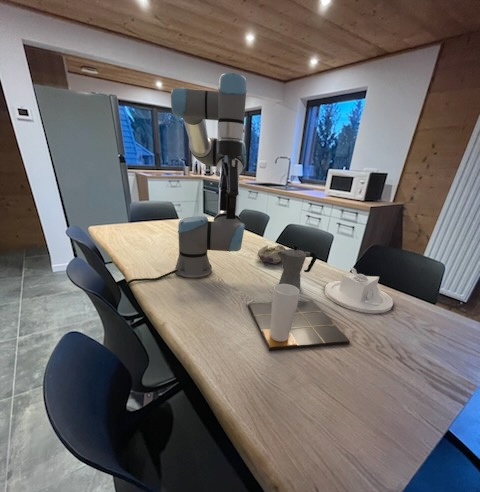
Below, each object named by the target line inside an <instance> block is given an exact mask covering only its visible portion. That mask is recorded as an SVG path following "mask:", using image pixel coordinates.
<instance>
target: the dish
mask: <svg viewBox="0 0 480 492" xmlns="http://www.w3.org/2000/svg"><path fill="white" fill-rule="evenodd" d="M350 270H351V273H352V275H351V274H343V275H342V277H341V280H335V281H329V282H328V283H327V284H326V285H325V287H324V294H325V296H326V297H327V298H328V299H329V300H331V301H332V302H333V303H335V304H336V305H339V306H341V307H343V308H346V309H349V310H351V311H356V312H359V313H365V314H384V313H387V312H388V311H391V309H392V307H393V306H394V305H393V304H394V300H393V298H392V297H391V296H390V295H389V294H388V293H387V292H385V291H383V290H382V289H380V288H379V287H377V285H378V283H379V279H380V276H372V275H371V276H370V275H365V274H363V273H358V272H357V269H356V268H355V267H353V266H350Z"/></svg>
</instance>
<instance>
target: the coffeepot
mask: <svg viewBox="0 0 480 492" xmlns="http://www.w3.org/2000/svg"><path fill="white" fill-rule="evenodd" d="M298 248H299V245H298V244H294V245H293V248H289V249H287V248H286V250H284V251H280V252H278V253H277V254H278V255H279V256H280V258H281V260H282V261H281V263H282V269H283V270H282V272H281V276H280V279H279V281H278V284H289V285H293V286H295V287H297V288H298V289H299V290H301V272H302V270H303V272H304V273H309V272H310V271H311V270H312V268H313V266H314V264H315V263H316V261H317V260H318V256H317V254H316V252H314V251H303V250H300V249H298ZM306 258H311V259H310V262H309V264H308V266H307V269H303V267H304V264H305V260H306Z"/></svg>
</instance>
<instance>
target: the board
mask: <svg viewBox="0 0 480 492" xmlns="http://www.w3.org/2000/svg"><path fill="white" fill-rule="evenodd" d="M247 304H248V305H247V306H248V309H249V311H250V312H251V315H252V317H253V319H254V321H255V323H256V325H257V327H258V329H259V331H260V334H261V336H262V338H263V339H264V343H265V344H266V346H267V348H268V351H270V352H271V351H283V350H294V349H305V348H315V347H328V346H338V345H339V346H340V345H349V344H350V342H351V341H350V339H349V338H348V337H347V336H346V335H345V334H344V333H343V332H342V331H341V330H340V329H339V328H338V326H337V325H336V324H335V323H334V322H333V321H332V320H331V319H330V318H329V317H328V315H326V314H325V313H324V311H323V310H322V309H321V308H320V307H319V306H318V305H317V304H316V303H315V302H314V301H313V300H298V305H297V309H296V312H295V316H294V319H293V323H292V326H291V330H290V334H289V338H288V339H287V340H286V341H283V342H279V341H275V340H274V339H272V338H271V336H270V329H271V308H272V301H270V302H269V301H268V302H251V303H250V302H249V303H247Z"/></svg>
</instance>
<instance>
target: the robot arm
mask: <svg viewBox="0 0 480 492" xmlns="http://www.w3.org/2000/svg"><path fill="white" fill-rule="evenodd" d="M218 81H219V82H218V89H217V90H206V89H198V88H197V89H196V88H188V87H173V88H172V90H171V92H170V106H171V107H170V108H171V113H172V115H173V116H174V117H176V118H180V119H182V121H183V123H184V128H185V130H186V134H187V136H188V140H189V141H188V148H189V151H190V153H191V155H192V156H193V157H194V158H195V159H196V160H197V161H199V162H200V163H201V164H203V165H205V166H207V167H214V168H216V169H217V171H218V172H219V185H218V201H217V214H216V215H214V217H213V221H212V220H209V219H208V217H207V216H203V215H198V216H197V215H196V216H188V217H184V218H182V219H180V220H179V222H178V224H177V225H178V226H177V227H178V230H177V235H178V254H179V255H178V258H177V261H176V263H175V268H174V270H172V271H169V272H167V273H164V274H163V275H160V276H158V277H152V278H151V277H144V278H132V279H130V280H128V281H127V282H126V283H125V285H124V286H126V287H127V286H129V285H130V284H131V283H133V282H144V281H145V282H149V281H150V282H153V281H158V280H161V279H163V278H166V277H169V276H170V275H173V274H176V275H177V276H178V277H180V278H183V279H190V280H197V279H203V278H206V277H209V276H210V275H211V274H212V265H211V263H210V259H209V257H208V251H215V252H216V251H218V252H229V253H230V252H240V250H241V248H242V244H243V239H244V233H245V226H246V224H245V223H243V222H242V218H241V217H240V216H239V199H240V198H239V194H240V174H241V173H242V172H243V170H245V169H246V166H247V147H246V143H245V142H244V141H243V140H244V134H245V133H246V128H244V127H245V114H246V102H247V101H246V100H247V92H248V90H247V78H246V77H245V76H244V75H242V74H241V73H240V74H239V73H235V72H226V73H222V74H221V75H219V79H218ZM206 120H207V121H217V130H216V131H217V133H216V135H217V136H216V137H217V138H216V137H209V133H208V129H207V128H208V127H207V121H206Z"/></svg>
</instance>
